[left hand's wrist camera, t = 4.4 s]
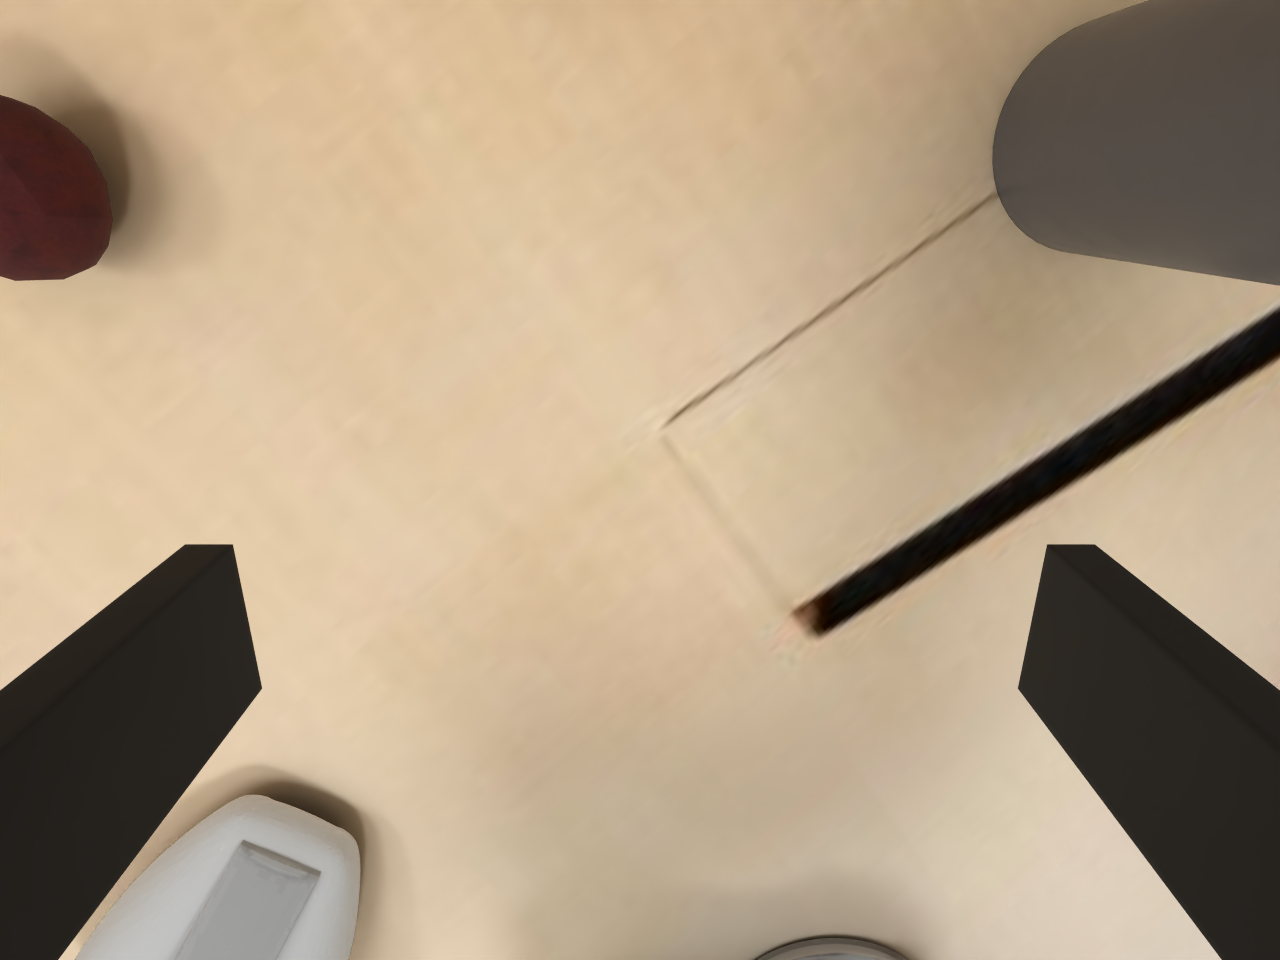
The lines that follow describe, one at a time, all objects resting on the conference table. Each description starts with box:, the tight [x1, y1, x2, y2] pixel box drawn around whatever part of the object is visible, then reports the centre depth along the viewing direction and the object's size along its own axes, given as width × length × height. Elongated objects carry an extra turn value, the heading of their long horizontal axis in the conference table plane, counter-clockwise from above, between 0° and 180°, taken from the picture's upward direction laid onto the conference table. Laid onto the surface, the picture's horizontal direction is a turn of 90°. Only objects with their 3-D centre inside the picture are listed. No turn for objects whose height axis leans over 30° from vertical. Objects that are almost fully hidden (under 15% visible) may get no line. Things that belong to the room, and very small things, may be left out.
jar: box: [993, 0, 1280, 285], centre depth 27 cm, size 10×10×20 cm
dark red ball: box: [0, 95, 113, 281], centre depth 33 cm, size 7×8×7 cm
